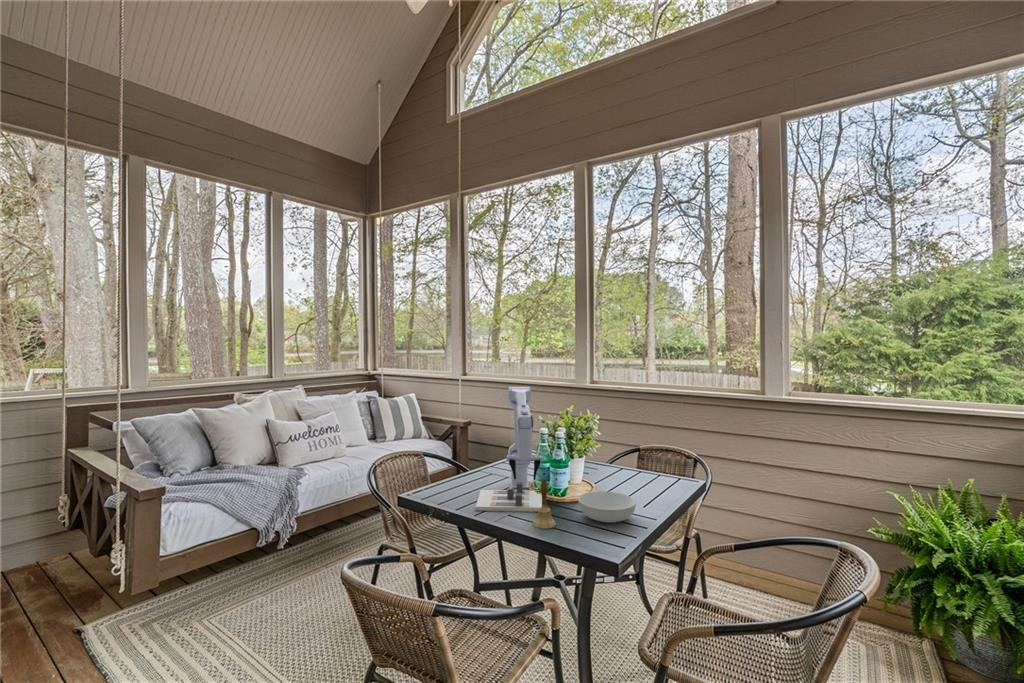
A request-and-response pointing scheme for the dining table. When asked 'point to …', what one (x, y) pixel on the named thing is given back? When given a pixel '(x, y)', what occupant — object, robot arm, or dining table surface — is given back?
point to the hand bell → (544, 511)
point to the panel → (509, 500)
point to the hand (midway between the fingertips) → (524, 478)
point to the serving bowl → (606, 506)
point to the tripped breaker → (510, 492)
